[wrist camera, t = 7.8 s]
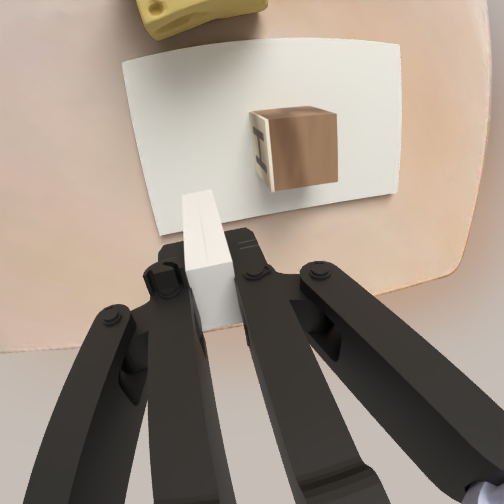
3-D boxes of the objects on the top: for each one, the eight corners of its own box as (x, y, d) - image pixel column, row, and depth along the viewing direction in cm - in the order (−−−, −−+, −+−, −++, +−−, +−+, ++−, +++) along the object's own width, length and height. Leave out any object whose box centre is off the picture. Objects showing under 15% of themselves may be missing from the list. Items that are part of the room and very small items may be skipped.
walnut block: (271, 192, 25) (337, 181, 26) (264, 120, 22) (336, 113, 23) (255, 170, 30) (312, 162, 31) (248, 111, 27) (309, 105, 28)
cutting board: (160, 230, 33) (159, 235, 32) (123, 62, 23) (121, 62, 22) (392, 189, 36) (397, 192, 35) (393, 44, 26) (399, 44, 25)
